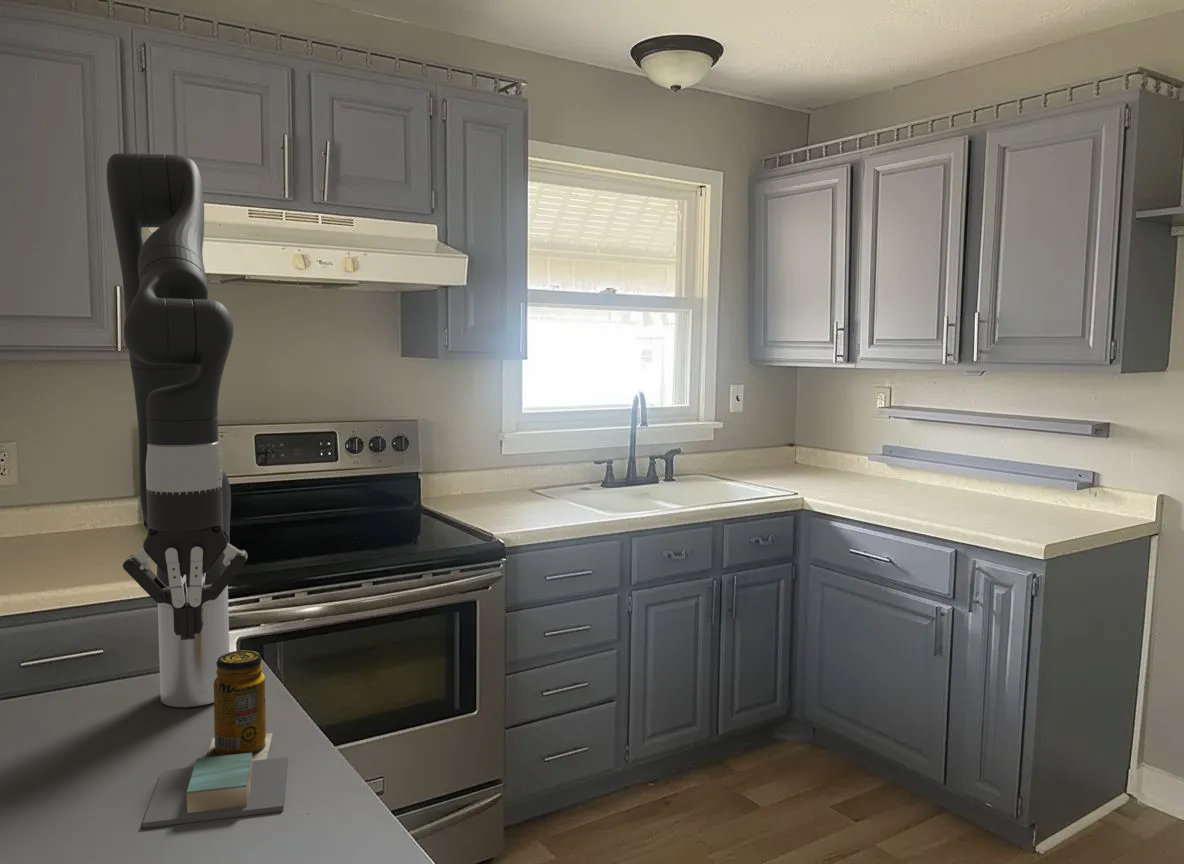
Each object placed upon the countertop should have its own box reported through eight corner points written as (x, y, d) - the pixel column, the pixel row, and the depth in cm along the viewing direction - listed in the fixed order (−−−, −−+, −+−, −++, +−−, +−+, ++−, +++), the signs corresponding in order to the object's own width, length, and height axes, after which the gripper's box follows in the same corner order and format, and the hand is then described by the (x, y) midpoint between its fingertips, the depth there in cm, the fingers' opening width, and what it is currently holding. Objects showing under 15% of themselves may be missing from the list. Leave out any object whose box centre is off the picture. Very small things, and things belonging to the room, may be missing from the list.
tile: (246, 785, 98) (252, 752, 105) (186, 791, 96) (197, 758, 104) (246, 806, 98) (252, 772, 106) (187, 813, 96) (197, 778, 104)
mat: (162, 775, 106) (162, 770, 106) (287, 761, 110) (287, 756, 110) (142, 828, 94) (142, 822, 94) (283, 810, 98) (283, 805, 98)
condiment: (272, 734, 117) (270, 645, 116) (265, 764, 109) (264, 668, 108) (212, 739, 115) (210, 649, 114) (201, 770, 107) (199, 673, 106)
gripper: (109, 491, 92) (115, 654, 94) (246, 487, 96) (250, 644, 98) (124, 479, 99) (130, 631, 101) (251, 476, 103) (255, 622, 105)
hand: (189, 637), depth 99 cm, fingers closed
